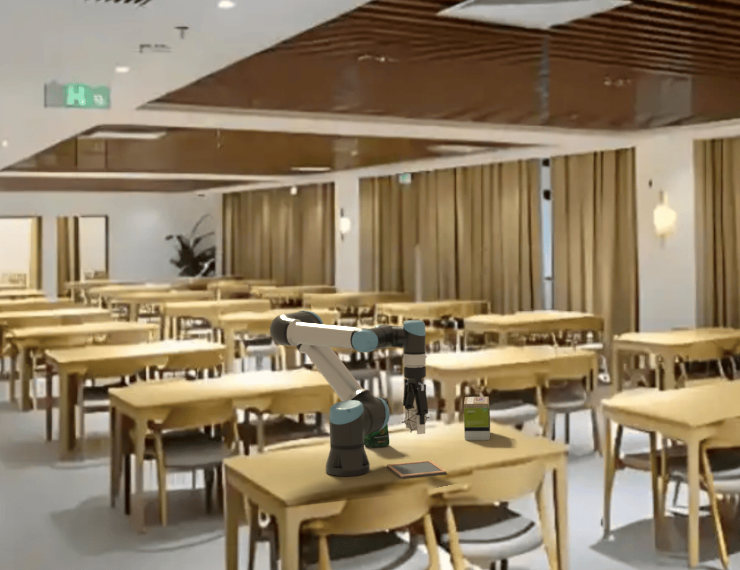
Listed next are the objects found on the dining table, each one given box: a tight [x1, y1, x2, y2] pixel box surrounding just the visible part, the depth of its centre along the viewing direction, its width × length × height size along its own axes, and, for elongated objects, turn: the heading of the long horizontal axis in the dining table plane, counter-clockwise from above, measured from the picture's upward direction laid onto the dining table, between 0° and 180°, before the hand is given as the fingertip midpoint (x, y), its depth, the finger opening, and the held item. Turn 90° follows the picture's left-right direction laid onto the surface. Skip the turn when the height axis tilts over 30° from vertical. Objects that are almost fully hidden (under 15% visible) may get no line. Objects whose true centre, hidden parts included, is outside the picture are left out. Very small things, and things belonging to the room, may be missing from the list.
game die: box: [401, 408, 430, 433], centre depth 313 cm, size 9×8×10 cm
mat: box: [386, 460, 447, 479], centre depth 312 cm, size 16×16×1 cm
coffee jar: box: [364, 397, 390, 449], centre depth 350 cm, size 10×8×19 cm
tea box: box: [463, 396, 491, 441], centre depth 363 cm, size 15×10×15 cm, turn 172°
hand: (415, 430), depth 314 cm, fingers closed on game die, 9 cm apart
